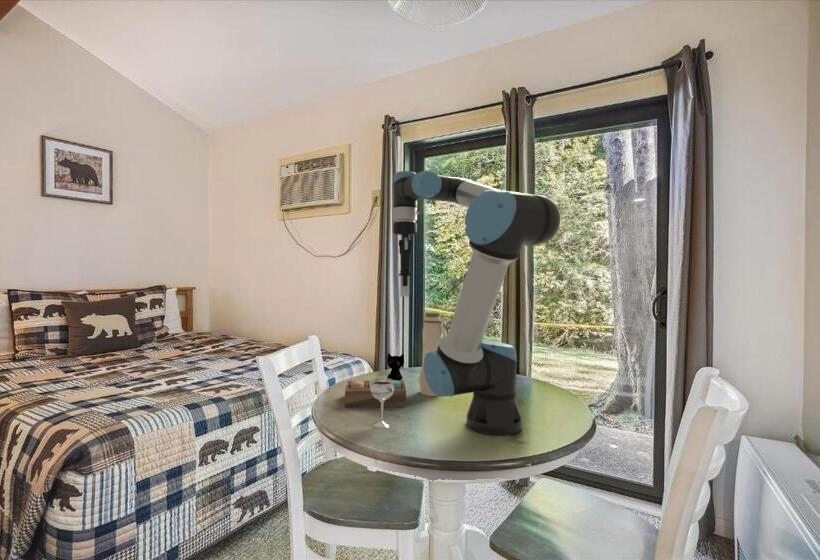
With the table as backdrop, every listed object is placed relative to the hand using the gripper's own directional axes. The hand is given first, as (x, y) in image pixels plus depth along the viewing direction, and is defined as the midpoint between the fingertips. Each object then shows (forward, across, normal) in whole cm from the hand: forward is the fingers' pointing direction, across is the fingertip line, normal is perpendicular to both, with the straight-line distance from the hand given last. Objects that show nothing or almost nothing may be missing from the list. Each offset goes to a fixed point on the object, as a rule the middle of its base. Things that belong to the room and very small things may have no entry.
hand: (404, 296), depth 135 cm
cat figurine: (+35, +21, +2) cm, 41 cm away
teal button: (+34, +3, +3) cm, 34 cm away
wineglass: (+35, -18, +7) cm, 40 cm away
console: (+34, +3, +9) cm, 36 cm away
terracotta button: (+34, +3, +15) cm, 37 cm away
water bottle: (+35, +11, -11) cm, 38 cm away
